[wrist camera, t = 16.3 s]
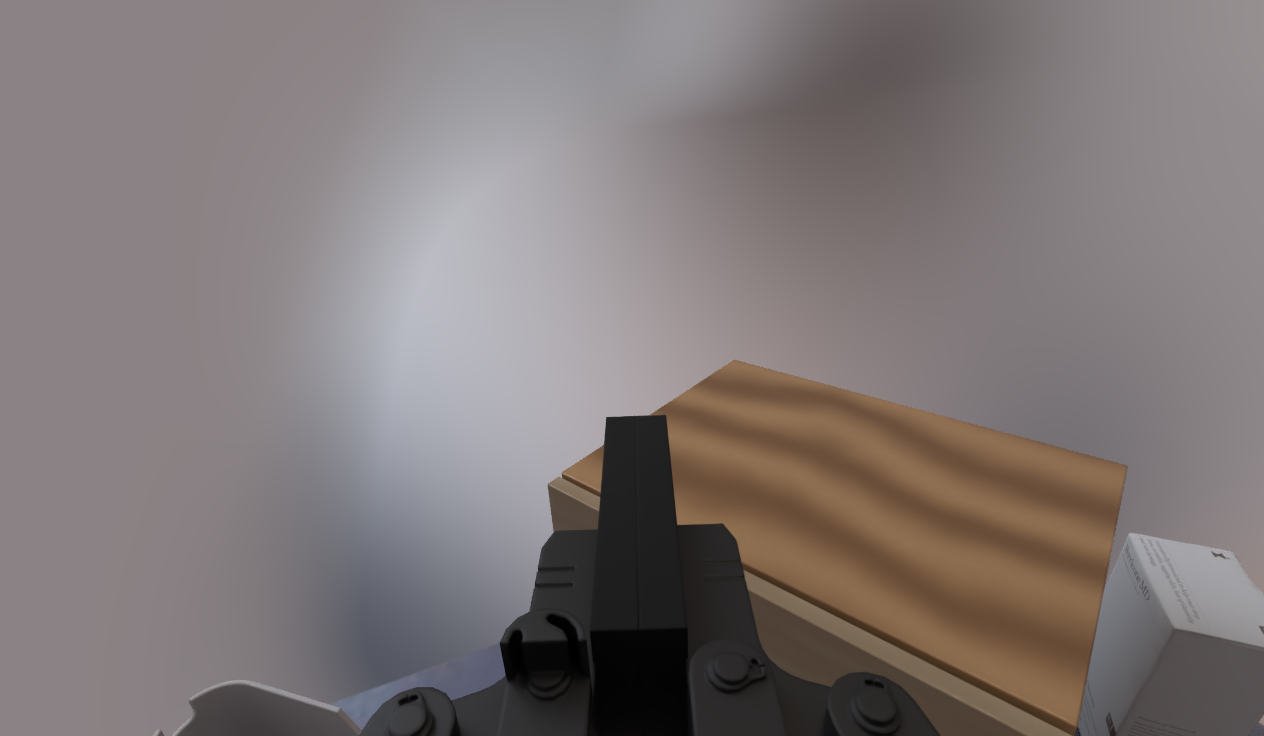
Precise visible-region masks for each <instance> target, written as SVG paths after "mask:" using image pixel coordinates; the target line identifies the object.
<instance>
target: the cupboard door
mask: <svg viewBox="0 0 1264 736" xmlns="http://www.w3.org/2000/svg"><path fill="white" fill-rule="evenodd" d="M548 491H549V498H550V507H551V515H552V522H553V530H554V531H565V530H593V529H598V519H599V506H600V497H598V496H596V495H594V494H592V493H590V492H588V491H586V490H584V489H583V488H581V487H579V486H577V485H575V484H573V483H571V482H569V481H567V480H565V479H563V478H561V477H558V478H556V479H555V480H553V481H552V482H550V483H549V484H548ZM744 575H745V580H746V584H747V588H748V592H749V597H750V601H751V606H752V610H753V615H754V619H755V623H756V628H757V632H758V637H759V640H760V643H761V645H762V648H763V650H764V651H765V653H766V654H767V656H768V657H769V659H770V660H771V661H773V662H774V663H775V664H776V665H777V666H778V667H779V668H781V669H782V670H784V671H785V672H787V673H789V674H790V675H793V676H795V677H798V678H801V679H804V680H807V681H811V682H815V683H818V684H822V685H826V686H830V687H832V686H833V684H834V683H835V681H836V680H837V679H839V678H841V677H843V676H845V675H847V674H849V673H856V672H869V673H873V674H877V675H881V676H884V677H886V678H888V679H889V680H891V681H893V682H895V683H896V684H898V685H900V686H901V687H902V688H903V689H904V690H905V691H906V692H907V693H908V694H909V695H910V696H911V697H912V698H913V699H914V700H915V701H916V703H917V704H918V705H919V707H920V708H921V709H922V711H923V712H924V714H925V715H926V716H927V718H928V719H929V720H930V722H931V723H932V725H933V726H934V727H935V729H936V730H937V731H938V733H939V734H940V736H1072V735H1070V734H1068V733H1066V732H1064V731H1062V730H1060V729H1058V728H1056V727H1054V726H1052V725H1050V724H1048V723H1046V722H1044V721H1042V720H1040V719H1038V718H1036V717H1034V716H1032V715H1030V714H1028V713H1026V712H1025V711H1023V710H1021V709H1019V708H1017V707H1015V706H1013V705H1011V704H1009V703H1007V702H1005V701H1003V700H1001V699H999V698H997V697H995V696H993V695H991V694H989V693H987V692H985V691H983V690H981V689H979V688H977V687H975V686H973V685H971V684H969V683H967V682H965V681H963V680H961V679H959V678H957V677H955V676H953V675H951V674H949V673H947V672H945V671H943V670H941V669H939V668H937V667H935V666H933V665H931V664H929V663H927V662H925V661H923V660H921V659H919V658H917V657H916V656H914V655H912V654H910V653H908V652H906V651H904V650H902V649H900V648H898V647H896V646H894V645H892V644H890V643H888V642H886V641H884V640H882V639H880V638H878V637H876V636H874V635H872V634H870V633H868V632H866V631H864V630H862V629H860V628H858V627H856V626H854V625H852V624H850V623H848V622H846V621H844V620H842V619H840V618H838V617H836V616H834V615H832V614H830V613H828V612H826V611H824V610H822V609H820V608H818V607H816V606H814V605H812V604H810V603H808V602H806V601H805V600H803V599H801V598H799V597H797V596H795V595H793V594H791V593H789V592H787V591H785V590H783V589H781V588H779V587H777V586H775V585H773V584H771V583H769V582H767V581H765V580H763V579H761V578H759V577H757V576H755V575H753V574H751V573H749V572H747V571H745V570H744Z"/></svg>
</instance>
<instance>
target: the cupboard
mask: <svg viewBox="0 0 1264 736" xmlns="http://www.w3.org/2000/svg"><path fill="white" fill-rule="evenodd" d="M651 415H666V417H667V427H668V437H669V447H670V457H671V467H672V477H673V487H674V497H675V507H676V517H677V525H690V524H719V523H723V524H724V525H725V527H726V528H727V529H728V530H729V531H730V533H731V534H732V535H733V536H734V537H735V539H736V540H737V544H738V548H739V553H740V557H741V563H742V566H743V570H745V571H747V572H749V573H751V574H753V575H755V576H757V577H759V578H761V579H763V580H765V581H767V582H769V583H771V584H773V585H775V586H777V587H779V588H781V589H783V590H785V591H787V592H789V593H791V594H793V595H795V596H797V597H799V598H801V599H803V600H805V601H806V602H808V603H810V604H812V605H814V606H816V607H818V608H820V609H822V610H824V611H826V612H828V613H830V614H832V615H834V616H836V617H838V618H840V619H842V620H844V621H846V622H848V623H850V624H852V625H854V626H856V627H858V628H860V629H862V630H864V631H866V632H868V633H870V634H872V635H874V636H876V637H878V638H880V639H882V640H884V641H886V642H888V643H890V644H892V645H894V646H896V647H898V648H900V649H902V650H904V651H906V652H908V653H910V654H912V655H914V656H916V657H917V658H919V659H921V660H923V661H925V662H927V663H929V664H931V665H933V666H935V667H937V668H939V669H941V670H943V671H945V672H947V673H949V674H951V675H953V676H955V677H957V678H959V679H961V680H963V681H965V682H967V683H969V684H971V685H973V686H975V687H977V688H979V689H981V690H983V691H985V692H987V693H989V694H991V695H993V696H995V697H997V698H999V699H1001V700H1003V701H1005V702H1007V703H1009V704H1011V705H1013V706H1015V707H1017V708H1019V709H1021V710H1023V711H1025V712H1026V713H1028V714H1030V715H1032V716H1034V717H1036V718H1038V719H1040V720H1042V721H1044V722H1046V723H1048V724H1050V725H1052V726H1054V727H1056V728H1058V729H1060V730H1062V731H1064V732H1066V733H1068V734H1070V735H1072V736H1074V735H1075V732H1076V730H1077V727H1078V723H1079V718H1080V713H1081V707H1082V702H1083V697H1084V692H1085V687H1086V681H1087V676H1088V671H1089V666H1090V661H1091V655H1092V650H1093V645H1094V640H1095V635H1096V629H1097V624H1098V619H1099V614H1100V609H1101V603H1102V598H1103V593H1104V588H1105V583H1106V577H1107V572H1108V567H1109V562H1110V557H1111V551H1112V546H1113V541H1114V536H1115V530H1116V525H1117V520H1118V514H1119V510H1120V505H1121V499H1122V494H1123V489H1124V484H1125V479H1126V473H1127V468H1128V467H1127V466H1126V465H1123V464H1119V463H1116V462H1112V461H1108V460H1104V459H1101V458H1096V457H1093V456H1089V455H1086V454H1082V453H1078V452H1075V451H1071V450H1067V449H1063V448H1060V447H1056V446H1053V445H1049V444H1045V443H1041V442H1038V441H1034V440H1030V439H1026V438H1023V437H1019V436H1015V435H1012V434H1008V433H1004V432H1000V431H997V430H993V429H989V428H986V427H982V426H978V425H975V424H971V423H967V422H963V421H960V420H956V419H952V418H949V417H945V416H941V415H937V414H934V413H930V412H926V411H923V410H919V409H915V408H912V407H907V406H904V405H900V404H896V403H893V402H889V401H886V400H882V399H878V398H874V397H870V396H867V395H863V394H859V393H856V392H852V391H848V390H845V389H841V388H837V387H833V386H830V385H826V384H822V383H819V382H815V381H811V380H808V379H804V378H800V377H797V376H793V375H789V374H785V373H782V372H777V371H774V370H771V369H766V368H763V367H759V366H755V365H752V364H748V363H745V362H741V361H737V360H733V361H732V362H730V363H728V364H727V365H725V366H724V367H722V368H721V369H720V370H718V371H716V372H715V373H713V374H712V375H710V376H709V377H707V378H706V379H704V380H702V381H701V382H699V383H698V384H696V385H695V386H693V387H692V388H690V389H689V390H687V391H686V392H684V393H683V394H681V395H680V396H678V397H677V398H675V399H673V400H672V401H670V402H669V403H667V404H666V405H664V406H663V407H661V408H660V409H658V410H657V411H655V412H654V413H652V414H651ZM649 416H650V415H649ZM603 454H604V445H603V446H602V447H600V448H599V449H597V450H595V451H594V452H592V453H591V454H589V455H588V456H586V457H585V458H583V459H582V460H580V461H579V462H577V463H576V464H574V465H573V466H571V467H569V468H568V469H566V470H565V471H563V472H562V478H563V479H565V480H567V481H569V482H571V483H573V484H575V485H577V486H579V487H581V488H583V489H584V490H586V491H588V492H590V493H592V494H594V495H596V496H598V497H600V493H601V480H602V467H603Z"/></svg>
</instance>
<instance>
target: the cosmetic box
mask: <svg viewBox="0 0 1264 736" xmlns="http://www.w3.org/2000/svg"><path fill="white" fill-rule="evenodd" d="M1263 715H1264V593H1263V592H1262V591H1261V590H1260V589H1259V588H1258V587H1257V586H1255V585H1254V584H1253V582H1252V581H1251V579H1250V578H1249V576H1248V575H1247V573H1246V572H1245V570H1244V568H1243V567H1242V565H1241V564H1240V562H1239V560H1238V558H1237V556H1236V555H1235V554H1234V553H1233V552H1232V551H1226V550H1221V549H1216V548H1210V547H1205V546H1200V545H1194V544H1188V543H1182V542H1176V541H1171V540H1165V539H1161V538H1156V537H1151V536H1147V535H1141V534H1134V533H1129V534H1128V537H1127V540H1126V542H1125V544H1124V546H1123V549H1122V551H1121V553H1120V555H1119V558H1118V560H1117V562H1116V564H1115V566H1114V569H1113V571H1112V573H1111V575H1110V577H1109V580H1108V582H1107V584H1106V586H1105V588H1104V593H1103V598H1102V603H1101V609H1100V614H1099V619H1098V624H1097V629H1096V635H1095V640H1094V645H1093V650H1092V655H1091V661H1090V666H1089V671H1088V676H1087V681H1086V687H1085V692H1084V697H1083V702H1082V707H1081V713H1080V718H1079V723H1078V728H1079V732H1080V735H1081V736H1249V735H1250V734H1251V732H1252V731H1253V729H1254V728H1255V727H1256V725H1257V724H1258V722H1259V721H1260V719H1261V718H1262V716H1263Z"/></svg>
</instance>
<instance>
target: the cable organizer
mask: <svg viewBox="0 0 1264 736" xmlns="http://www.w3.org/2000/svg"><path fill="white" fill-rule="evenodd" d="M188 701H189V703H190V705H191V707H192V709H193V714H192V715H191V717H190V718H189V719H188V720H187V721H186V722H185V723H184V724H183V725H182V726H181V727H180V728H179V729H178V730H177V731H176V732H175V733H174V734H173V735H172V736H359V735H360V733H361V732H362V730H361V729H360V728H359V727H358V726H357V725H356V724H355V723H354V722H353V721H352V719H351V718H350V717H349V716H348V715H347V714H346V713H345V712H344V711H343V710H342V709H341V708H339V707H336V706H332V705H329V704H326V703H323V702H319V701H316V700H313V699H309V698H306V697H303V696H299V695H296V694H293V693H290V692H287V691H283V690H280V689H277V688H273V687H270V686H267V685H264V684H260V683H257V682H253V681H249V680H234V681H228V682H224V683H220V684H218V685H214V686H212V687H210V688H207V689H205V690H203V691H201V692H199V693H198V694H196V695H194V696H193V697H191V698H189V700H188ZM153 736H164V735H163V733H162V731H161V730H156V731H155V733H154V735H153Z"/></svg>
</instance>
